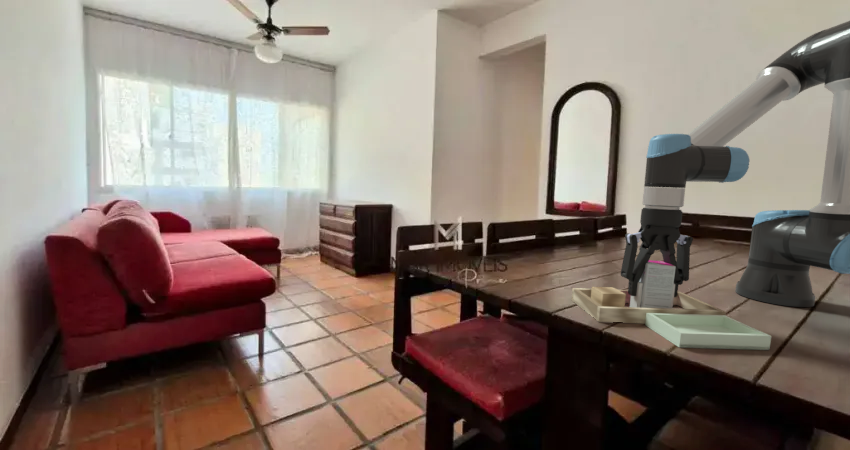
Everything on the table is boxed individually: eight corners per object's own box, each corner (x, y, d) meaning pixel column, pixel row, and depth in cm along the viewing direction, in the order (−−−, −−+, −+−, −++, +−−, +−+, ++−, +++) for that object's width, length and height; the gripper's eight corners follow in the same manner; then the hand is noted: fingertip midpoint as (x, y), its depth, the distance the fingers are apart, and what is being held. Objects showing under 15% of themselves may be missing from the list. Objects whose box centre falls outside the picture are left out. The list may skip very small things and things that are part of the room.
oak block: (611, 308, 85) (613, 287, 84) (623, 316, 80) (625, 294, 79) (589, 308, 85) (591, 286, 84) (600, 316, 80) (603, 293, 79)
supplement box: (670, 318, 79) (676, 265, 78) (640, 315, 81) (646, 264, 79) (659, 309, 85) (664, 260, 84) (631, 306, 86) (636, 258, 85)
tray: (723, 327, 75) (725, 315, 75) (769, 350, 65) (771, 335, 65) (645, 325, 75) (646, 312, 74) (679, 347, 65) (680, 333, 65)
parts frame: (677, 303, 90) (679, 291, 90) (724, 325, 76) (726, 311, 76) (571, 300, 90) (572, 288, 89) (598, 322, 76) (599, 307, 75)
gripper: (693, 207, 84) (681, 305, 87) (608, 204, 84) (599, 303, 86) (720, 210, 76) (706, 317, 79) (626, 207, 76) (616, 314, 79)
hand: (650, 310), depth 83 cm, fingers closed on supplement box, 6 cm apart
